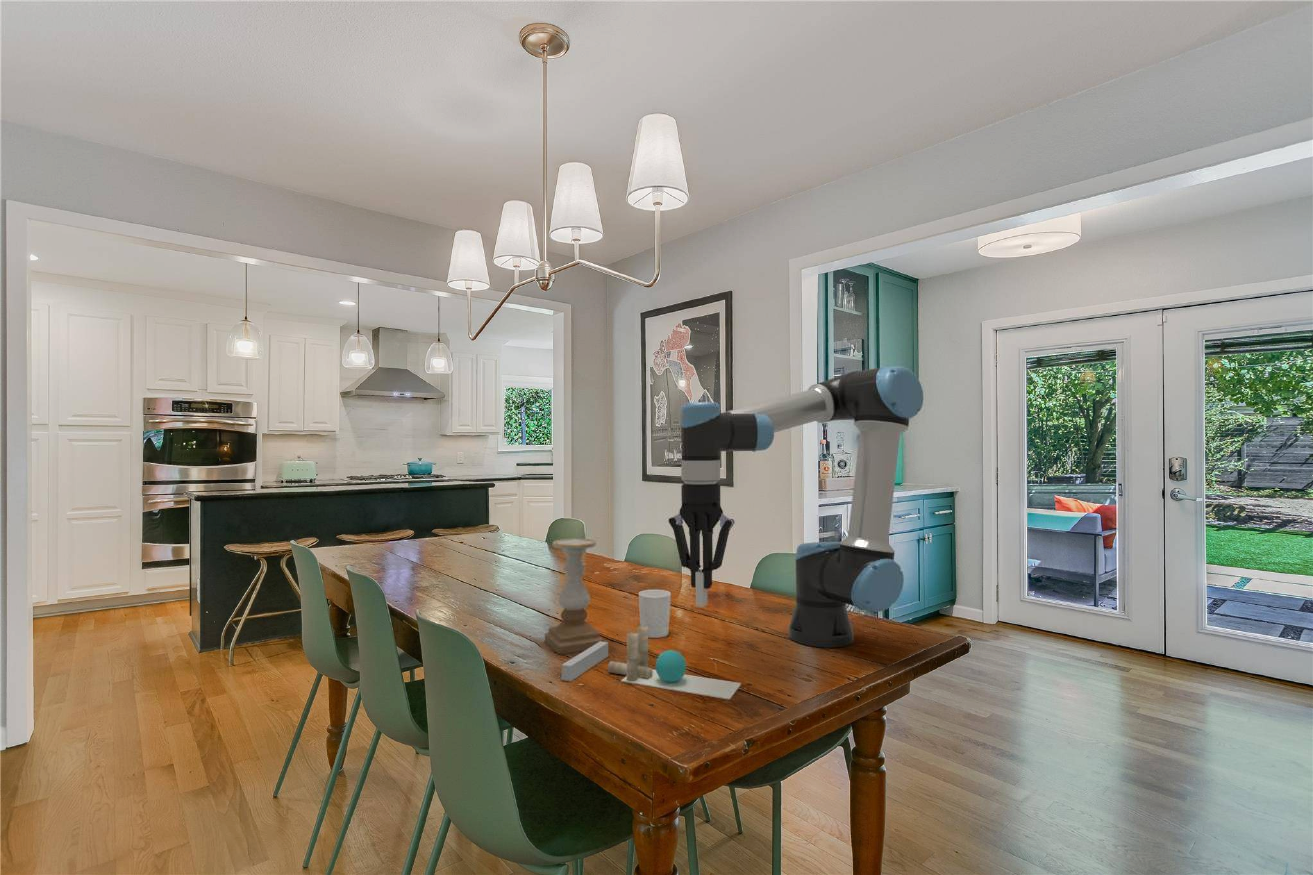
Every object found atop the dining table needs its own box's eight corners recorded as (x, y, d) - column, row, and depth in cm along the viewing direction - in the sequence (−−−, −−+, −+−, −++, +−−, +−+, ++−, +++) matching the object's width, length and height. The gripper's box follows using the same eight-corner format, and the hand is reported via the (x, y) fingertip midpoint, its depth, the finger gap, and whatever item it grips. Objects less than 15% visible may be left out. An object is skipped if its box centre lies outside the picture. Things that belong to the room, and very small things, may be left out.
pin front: (651, 665, 124) (611, 658, 127) (647, 673, 122) (607, 666, 126) (653, 674, 124) (614, 667, 128) (649, 681, 123) (609, 674, 126)
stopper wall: (608, 656, 136) (608, 642, 136) (570, 681, 121) (570, 666, 121) (600, 654, 137) (600, 641, 137) (561, 679, 122) (561, 664, 122)
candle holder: (558, 655, 137) (559, 546, 137) (543, 641, 146) (544, 539, 147) (604, 647, 142) (605, 543, 142) (587, 634, 152) (588, 536, 152)
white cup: (671, 629, 156) (672, 589, 156) (669, 639, 148) (669, 597, 148) (640, 628, 157) (640, 589, 157) (636, 638, 149) (636, 596, 149)
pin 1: (639, 678, 123) (639, 633, 123) (634, 682, 121) (635, 636, 121) (629, 677, 124) (629, 631, 124) (624, 681, 122) (624, 635, 122)
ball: (664, 644, 126) (659, 673, 125) (653, 650, 120) (648, 681, 120) (692, 651, 124) (687, 681, 123) (682, 657, 118) (677, 689, 118)
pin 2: (649, 670, 128) (649, 626, 128) (645, 674, 126) (645, 629, 126) (639, 669, 128) (640, 625, 129) (635, 672, 126) (635, 628, 126)
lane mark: (741, 684, 120) (741, 683, 120) (729, 699, 113) (729, 698, 113) (637, 668, 129) (637, 667, 129) (621, 681, 122) (621, 680, 122)
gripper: (738, 481, 121) (739, 603, 121) (676, 480, 126) (677, 597, 126) (727, 484, 114) (728, 613, 114) (662, 483, 119) (663, 606, 119)
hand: (701, 604), depth 120 cm, fingers closed
